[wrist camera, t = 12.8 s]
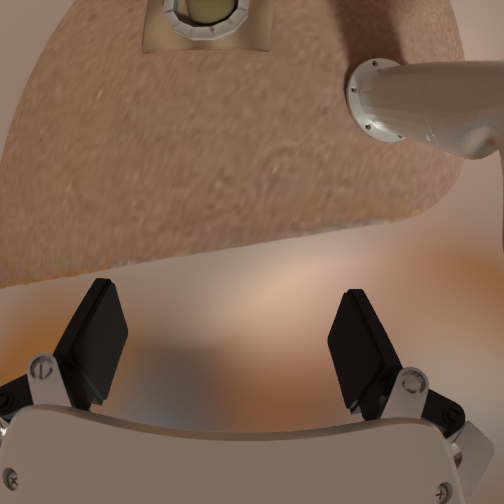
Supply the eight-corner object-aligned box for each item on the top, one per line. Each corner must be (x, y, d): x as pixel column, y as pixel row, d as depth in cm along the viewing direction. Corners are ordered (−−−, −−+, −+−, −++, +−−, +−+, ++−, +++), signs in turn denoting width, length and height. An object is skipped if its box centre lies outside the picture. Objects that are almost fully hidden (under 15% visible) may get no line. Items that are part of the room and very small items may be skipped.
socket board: (274, -19, 21) (278, -31, 18) (268, 51, 27) (271, 45, 24) (155, -17, 20) (147, -27, 16) (145, 53, 26) (135, 48, 23)
